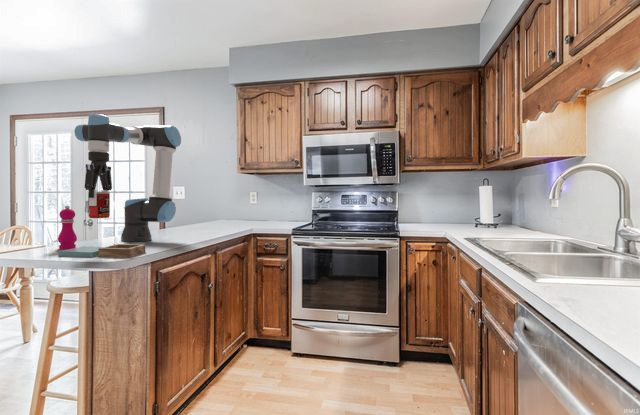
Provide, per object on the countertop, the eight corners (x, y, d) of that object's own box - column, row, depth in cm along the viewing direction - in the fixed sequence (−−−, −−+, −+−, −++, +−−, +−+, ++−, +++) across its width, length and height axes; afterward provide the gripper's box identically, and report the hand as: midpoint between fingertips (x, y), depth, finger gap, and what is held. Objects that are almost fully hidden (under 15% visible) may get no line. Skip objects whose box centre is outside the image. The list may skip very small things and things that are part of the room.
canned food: (100, 218, 146) (100, 192, 146) (83, 217, 148) (83, 191, 147) (114, 217, 154) (114, 192, 154) (97, 216, 155) (97, 191, 155)
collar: (117, 251, 158) (117, 243, 158) (145, 252, 158) (145, 244, 158) (98, 256, 145) (98, 248, 145) (128, 257, 145) (128, 249, 145)
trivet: (82, 250, 158) (82, 246, 158) (113, 251, 158) (113, 247, 158) (58, 256, 144) (58, 251, 144) (92, 257, 144) (92, 252, 144)
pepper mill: (75, 246, 169) (75, 205, 168) (78, 248, 164) (78, 205, 163) (56, 248, 164) (56, 205, 163) (59, 250, 159) (59, 205, 158)
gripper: (92, 149, 139) (92, 206, 140) (121, 154, 160) (121, 204, 161) (73, 148, 139) (73, 206, 140) (104, 154, 160) (104, 204, 161)
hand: (99, 205), depth 151 cm, fingers closed on canned food, 8 cm apart
